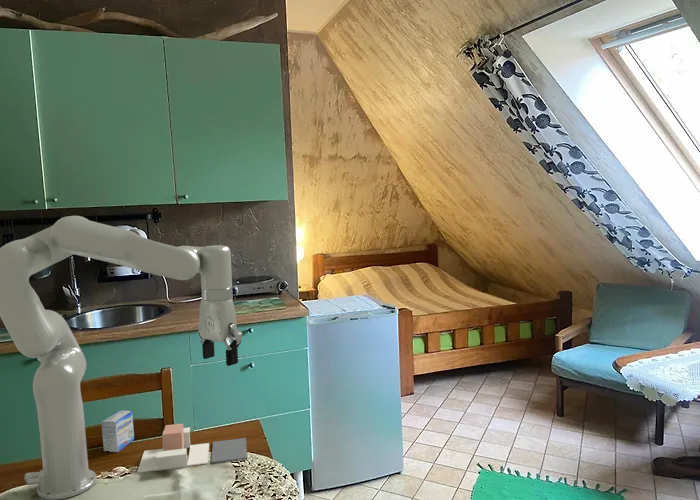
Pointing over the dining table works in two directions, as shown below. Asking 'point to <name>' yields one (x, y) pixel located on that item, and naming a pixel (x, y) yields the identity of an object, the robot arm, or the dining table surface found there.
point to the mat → (229, 450)
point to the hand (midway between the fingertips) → (220, 361)
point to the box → (173, 437)
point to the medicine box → (117, 431)
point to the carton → (174, 456)
